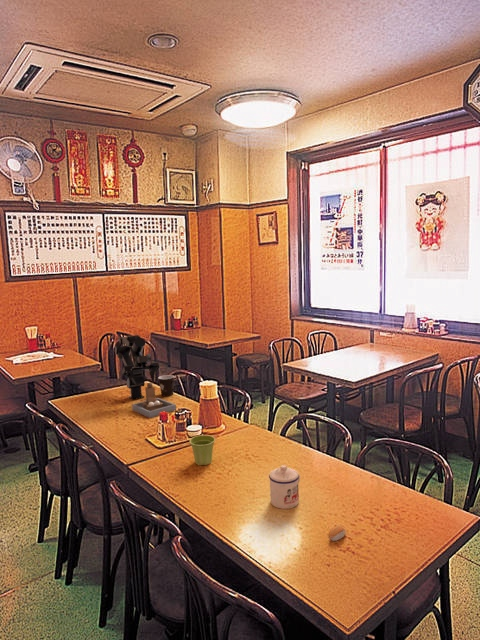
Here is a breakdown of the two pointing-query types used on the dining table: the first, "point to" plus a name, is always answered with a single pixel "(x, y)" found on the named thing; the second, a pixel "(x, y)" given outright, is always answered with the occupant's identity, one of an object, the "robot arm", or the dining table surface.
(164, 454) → the dining table surface
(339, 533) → the sushi
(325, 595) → the dining table surface
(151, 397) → the brown wooden box
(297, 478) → the teacup with lid
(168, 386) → the coffee mug
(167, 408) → the bin
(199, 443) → the plant pot
